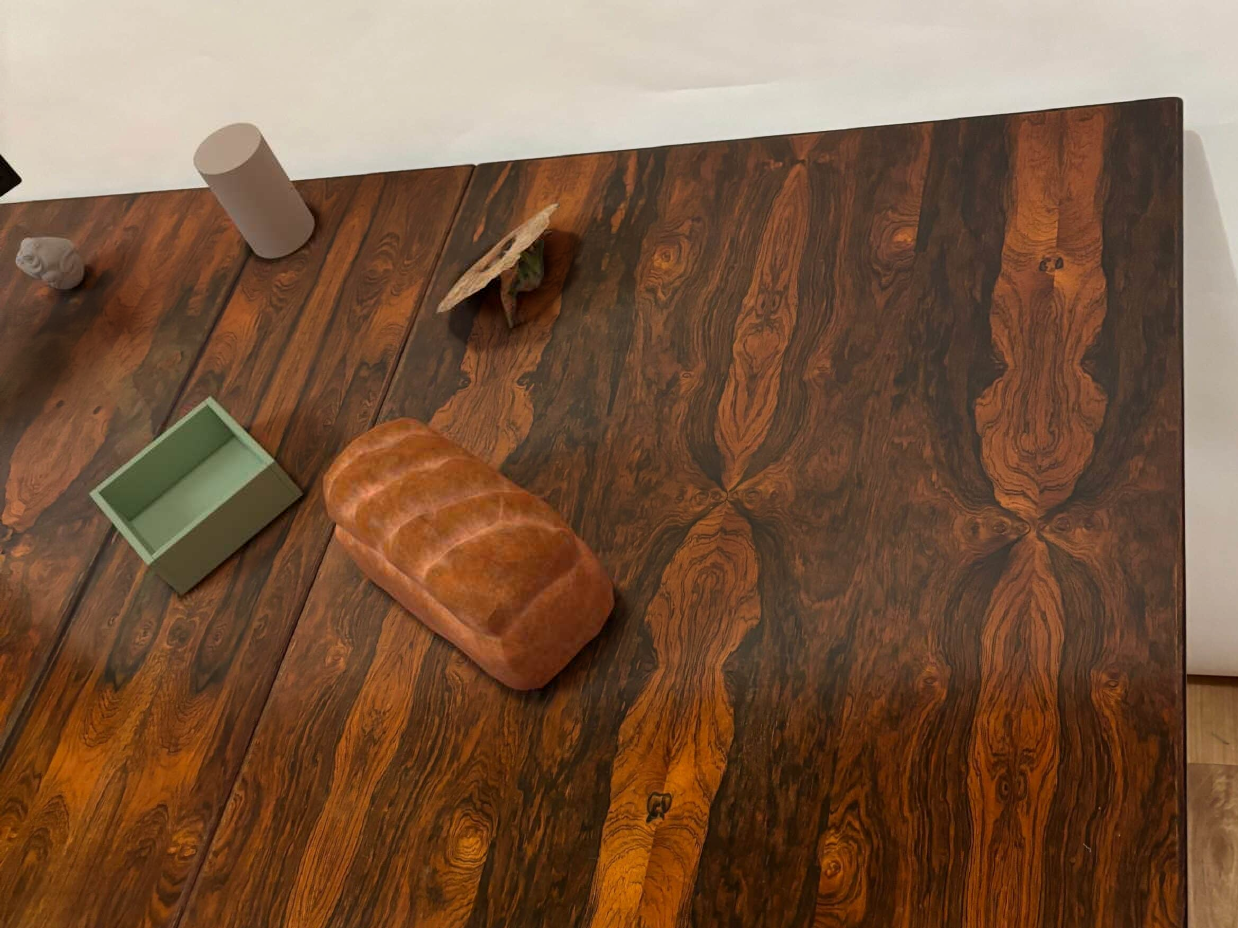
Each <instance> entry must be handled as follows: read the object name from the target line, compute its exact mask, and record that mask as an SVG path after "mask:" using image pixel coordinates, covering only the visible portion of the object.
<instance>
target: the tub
mask: <svg viewBox="0 0 1238 928" xmlns="http://www.w3.org/2000/svg"><path fill="white" fill-rule="evenodd" d="M88 495H89V496H90V497H91V498H92V500H93V501H94V502H95V503H96V505H98V507H99V509H101V510H102V511H103V513H104V514H105V515H106V517H107V518H108V519H109V520H110V521H111V523H112V524H113V525H114V526H115V528H116V529H117V530H118V531H119V532H120V534H121V535H122V536H123V537H124V539H125V540H126V541H127V542H128V543H129V544H130V546H131V547H132V549H134V550H135V552H136V553H137V554H138V556H139V557H140V558H141V559H142V560H143V562H144V563H145V564H146V565H147V566H148V567H149V568H150V569H151V570H152V571H153V572H155V573H156V575H158V576H159V577H160V578H161V579H162V580H163V581H165V582H166V583H167V584H168V585H170V587H172V588H173V589H174V590H175V591H177V593H179V594H180V595H181V596H184V595H185V594H186V593H187V592H188V591H190V590H191V589H192V588H193V587H194V586H196V584H198V583H199V582H200V581H202V580H203V579H204V578H205V577H207V575H208V574H210V573H211V572H212V571H213V570H214V569H216V568H217V567H219V565H221V564H222V563H223V562H224V561H225V560H227V559H228V558H229V557H230V556H231V555H232V554H234V553H235V552H236V551H237V550H239V549H240V548H241V547H242V546H243V545H244V544H246V543H247V542H248V541H249V540H250V539H252V538H253V537H254V536H255V535H256V534H258V533H259V532H260V531H261V530H263V529H264V528H265V527H266V526H267V525H268V524H270V523H271V522H272V521H273V520H275V519H276V518H277V517H278V516H279V515H280V514H281V513H282V512H284V511H285V510H287V508H289V507H290V506H291V505H292V504H294V503H295V502H296V501H297V500H298V499H299V498H300V497H302V496H303V495H304V493H303V492H302V490H300V488H299V487H298V485H297V484H295V482H294V481H293V480H292V479H291V477H289V475H288V474H287V473H286V472H285V471H284V469H283V468H282V467H281V466H280V465H279V463H278V462H277V461H276V460H275V459H274V458H273V456H272V455H270V454H269V453H268V452H267V451H266V450H265V449H264V448H263V447H262V446H261V445H260V444H259V443H258V442H257V441H256V439H254V438H253V437H252V436H251V435H250V434H249V433H248V432H247V431H246V430H245V429H244V428H243V427H242V426H241V425H240V424H239V423H238V422H237V420H235V419H234V418H233V417H232V416H231V414H229V413H228V412H227V411H226V410H225V409H224V408H223V407H222V406H221V405H220V404H219V403H218V402H217V401H216V400H215V399H214V398H213V397H212V396H211V395H210V396H208V397H207V398H205V400H203V401H202V402H200V403H199V404H198V405H197V406H196V407H194V408H193V409H192V410H190V411H189V412H188V413H187V414H186V415H185V416H183V417H182V418H181V419H180V420H178V421H177V422H176V423H174V425H172V426H171V427H170V428H168V429H167V430H165V432H163V433H162V434H160V435H159V436H158V437H157V438H156V439H155V440H153V441H152V442H151V443H149V444H148V445H147V446H145V448H144V449H142V450H141V451H140V452H139V453H137V454H136V455H135V456H134V457H132V458H131V459H130V460H128V461H127V462H126V463H124V464H123V465H122V466H121V467H120V468H119V469H117V470H116V471H115V472H114V473H112V475H110V476H108V477H107V478H106V479H105V480H104V481H103V482H101V483H100V484H99V485H98V486H96V487H95V488H94V489H93V490H91V491H90V492H89V493H88Z"/></svg>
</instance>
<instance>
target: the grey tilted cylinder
mask: <svg viewBox="0 0 1238 928" xmlns="http://www.w3.org/2000/svg"><path fill="white" fill-rule="evenodd" d="M193 166H194V168H195V169H196V170H197V172H198V173H199V175H200V176H201V178H202V179H203V180H204V182H205V183H206V185H207V186H208V187H209V189H210V190H211V192H212V193H213V195H214V196H215V197H216V199H217V201H218V202H219V204H220V205H221V206H222V209H224V210H225V212H226V214H227V215H228V216H229V218H230V220H232V222H233V224H234V225H235V227H236V228H237V229H238V231H239V232H240V234H241V235H242V237H243V238H244V239H245V241H246V242H247V243H248V245H249V246H250V248H251V249H252V250H253V252H254V253H255V254H256V255H257V256H258V257H261V258H264V259H278V258H282V257H285V256H288V255H290V254H292V253H293V252H295V251H296V250H298V249H300V248H301V247H302V246H303V245H304V244H305V243H306V242H307V241H308V240H309V239H310V237H311V236H312V234H313V232H314V229H315V218H314V216H313V214H312V212H311V210H309V208H308V206H307V205H306V203H305V201H304V200H303V198H302V197H301V195H300V193H299V192H298V190H297V189H296V188H295V185H294V184H293V182H292V180H291V179H290V178H289V176H288V174H287V172H286V171H285V169H284V167H283V166H282V164H281V163H280V161H279V160H278V158H277V157H276V155H275V153H274V151H273V150H272V149H271V147H270V145H269V144H268V142H267V140H266V139H265V136H263V134H262V132H261V131H260V129H259V128H258V127H257V126H256V125H254V124H252V123H248V122H237V123H232V124H228V125H226V126H223V127H221V128H219V129H217V130H215V131H213V132H212V133H210V134H209V135H208V136H207V137H206V138H204V139H203V140H202V141H201V142H200V144H199V145H198V147H197V148H196V150H195V152H194V156H193Z"/></svg>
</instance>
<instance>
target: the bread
mask: <svg viewBox="0 0 1238 928" xmlns="http://www.w3.org/2000/svg"><path fill="white" fill-rule="evenodd" d="M322 480H323V481H322V482H323V483H322V484H323V485H322V492H323V496H324V500H325V504H326V505H325V507H326V509H327V514H328V517H329V518H330V519H332V521H333V522H334V523H335V529H334V535H335V537H336V538H337V540H338V541H339V543H340V544H341V546H342V548H343V549H344V551H345V553H346V554H347V555H348V556H349V557H350V559H351V560H352V561H353V562H354V564H355V565H356V566H357V567H358V569H359V570H360V571H361V573H362V574H363V575H365V576H366V577H367V578H368V579H370V580H371V581H372V582H373V583H374V584H375V585H376V586H378V587H379V588H381V589H383V590H384V591H385V592H386V593H387V594H389V595H390V596H391V597H392V598H393V599H394V600H395V601H397V602H398V603H399V604H400V605H401V606H402V607H403V608H405V609H406V610H407V611H408V612H410V613H411V614H412V615H413V616H415V617H416V618H417V619H418V620H419V621H420V622H422V623H423V624H424V625H425V626H427V627H428V628H429V629H430V630H432V631H433V632H434V633H436V634H438V635H439V636H441V637H443V638H444V639H446V640H447V641H449V642H451V643H452V644H453V645H455V646H456V647H457V648H458V649H459V650H461V652H463V653H464V654H465V655H466V656H468V657H469V658H470V659H471V660H472V661H473V662H474V663H476V665H478V666H479V668H481V669H482V670H483V671H485V672H486V674H488V675H489V676H491V677H492V678H494V679H496V680H498V681H499V682H500V683H502V684H503V685H505V686H507V687H508V688H511V689H513V690H516V691H517V690H518V691H530V690H537V689H542V688H543V687H544V686H545V685H547V684H548V683H549V682H550V681H551V680H552V679H553V678H554V677H555V676H556V675H557V674H559V673H560V672H561V671H562V670H563V669H564V668H565V667H566V666H567V665H568V664H569V663H570V662H571V661H572V660H573V659H574V657H575V656H576V655H577V654H578V653H579V652H580V651H581V650H582V649H583V648H584V647H585V646H586V645H587V644H588V643H589V642H590V641H592V640H593V639H594V638H595V637H597V636H598V635H599V634H600V632H601V630H602V629H603V626H604V625H605V623H606V622H607V620H608V618H609V616H610V614H611V612H612V611H613V608H614V606H615V597H614V587H613V584H612V581H611V579H610V577H609V575H608V574H607V572H606V570H605V569H604V567H603V565H602V564H601V562H600V560H599V559H598V558H597V556H596V555H595V554H594V552H593V551H592V550H591V549H590V548H589V546H588V544H587V543H586V542H585V541H583V540H582V539H581V538H580V537H579V536H578V535H577V534H576V533H575V532H574V529H573V528H572V527H571V525H570V524H568V523H567V522H566V521H565V520H564V519H563V517H562V516H561V515H560V514H559V513H558V512H557V511H556V510H555V509H554V508H553V507H552V506H551V505H549V504H548V503H547V502H546V501H544V500H543V499H542V498H540V497H538V496H537V495H535V494H533V493H531V492H529V491H528V490H526V489H524V488H522V487H521V486H519V485H518V484H517V483H515V482H514V481H512V480H510V479H509V478H508V477H506V476H505V475H503V474H502V473H501V472H500V471H498V470H497V469H495V468H494V467H493V466H491V465H489V464H488V463H486V462H485V461H484V460H482V459H481V458H479V457H478V456H476V454H474V453H472V452H470V451H469V450H467V449H466V448H464V447H463V446H462V445H460V444H459V443H456V442H454V441H452V440H450V439H448V438H447V437H445V436H444V435H443V434H441V432H438V431H436V430H435V429H433V428H432V427H430V426H429V425H427V424H425V423H423V422H422V421H420V420H418V419H415V418H412V417H400V418H397V419H393V420H389V421H387V422H384V423H380V424H377V425H375V426H374V427H373V428H371V429H370V430H368V431H366V432H365V433H363V434H361V435H360V436H358V437H357V438H355V439H354V440H352V441H351V442H350V443H349V444H348V445H347V446H346V447H345V448H344V449H343V450H342V452H341V453H340V454H339V455H338V456H337V457H336V458H335V460H334V461H333V463H332V464H331V466H330V467H329V468H328V470H327V471H326V473H325V474H324V475H323V479H322Z"/></svg>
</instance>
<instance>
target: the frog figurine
mask: <svg viewBox="0 0 1238 928" xmlns="http://www.w3.org/2000/svg"><path fill="white" fill-rule="evenodd" d="M15 264H16V266H17V267H18V268H19V269H20V270H22V271H23V272H24V273H26V274H27V275H28V276H30V277H32V278H34V279H35V280H39V281H41V280H42V281H43V282H45V283H47V284H48V285H50V286H51V287H53V288H56V289H59V290H70V289H74V288H75V287H77V286H78V285H80V283H81V282H82V281H83V278H84V276H85V266H84V262H83V261H82V259H81V257H80V256H79V255H78V253H77V245H76V244H75V242H73V241H72V240H70V239H68V238H63V237H56V236H42V237H25V238H24V239H23V240H21V243H20V249H19V251H18V252H17V254H16V258H15Z"/></svg>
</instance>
